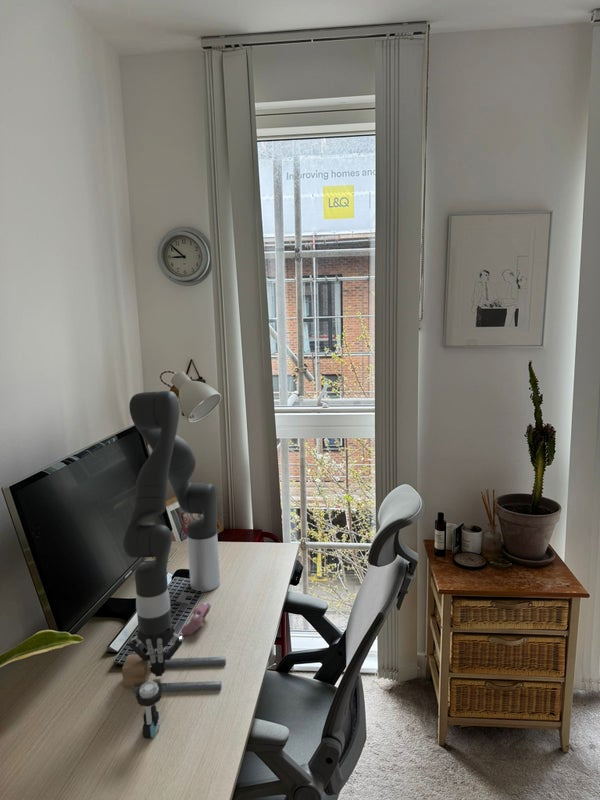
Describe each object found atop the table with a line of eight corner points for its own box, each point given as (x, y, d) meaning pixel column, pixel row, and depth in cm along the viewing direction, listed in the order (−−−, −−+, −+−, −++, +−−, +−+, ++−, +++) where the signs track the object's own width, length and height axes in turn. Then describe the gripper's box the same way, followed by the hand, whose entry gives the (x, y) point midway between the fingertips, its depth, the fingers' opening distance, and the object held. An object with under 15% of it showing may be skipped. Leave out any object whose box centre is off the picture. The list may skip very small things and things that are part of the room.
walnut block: (130, 673, 129) (128, 654, 128) (150, 672, 129) (149, 653, 128) (123, 687, 124) (121, 668, 123) (145, 686, 124) (143, 667, 123)
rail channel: (145, 664, 131) (144, 659, 131) (226, 662, 132) (225, 656, 131) (133, 692, 122) (133, 687, 122) (221, 689, 122) (220, 684, 122)
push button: (144, 715, 115) (140, 674, 113) (169, 714, 115) (166, 673, 114) (135, 740, 109) (131, 697, 107) (162, 739, 109) (158, 696, 107)
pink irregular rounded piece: (193, 642, 142) (203, 622, 140) (179, 634, 142) (188, 614, 141) (207, 621, 152) (216, 601, 150) (193, 613, 152) (202, 594, 150)
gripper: (185, 597, 127) (190, 662, 130) (129, 599, 127) (135, 664, 130) (179, 615, 120) (184, 684, 123) (120, 618, 119) (126, 686, 123)
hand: (159, 673), depth 126 cm, fingers closed
